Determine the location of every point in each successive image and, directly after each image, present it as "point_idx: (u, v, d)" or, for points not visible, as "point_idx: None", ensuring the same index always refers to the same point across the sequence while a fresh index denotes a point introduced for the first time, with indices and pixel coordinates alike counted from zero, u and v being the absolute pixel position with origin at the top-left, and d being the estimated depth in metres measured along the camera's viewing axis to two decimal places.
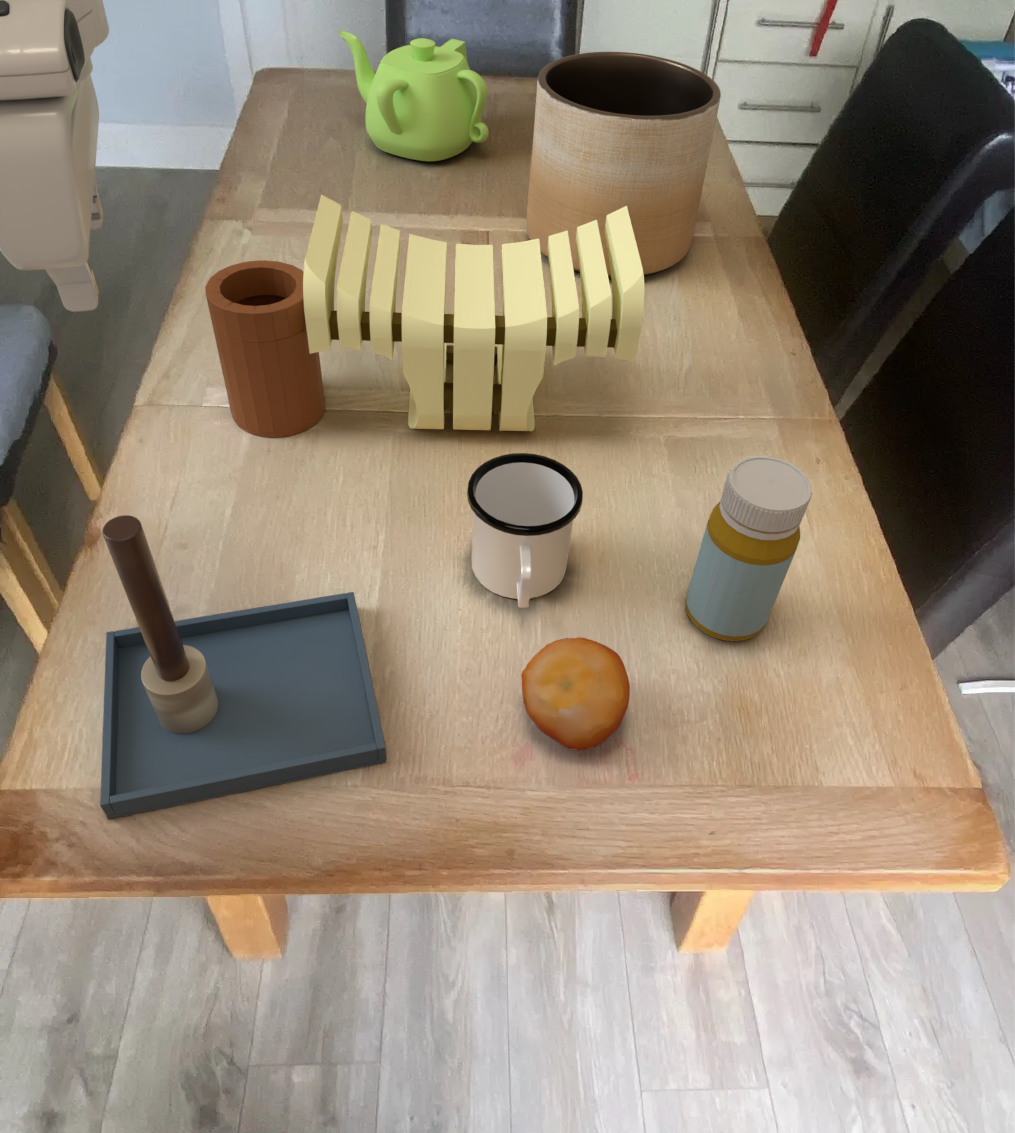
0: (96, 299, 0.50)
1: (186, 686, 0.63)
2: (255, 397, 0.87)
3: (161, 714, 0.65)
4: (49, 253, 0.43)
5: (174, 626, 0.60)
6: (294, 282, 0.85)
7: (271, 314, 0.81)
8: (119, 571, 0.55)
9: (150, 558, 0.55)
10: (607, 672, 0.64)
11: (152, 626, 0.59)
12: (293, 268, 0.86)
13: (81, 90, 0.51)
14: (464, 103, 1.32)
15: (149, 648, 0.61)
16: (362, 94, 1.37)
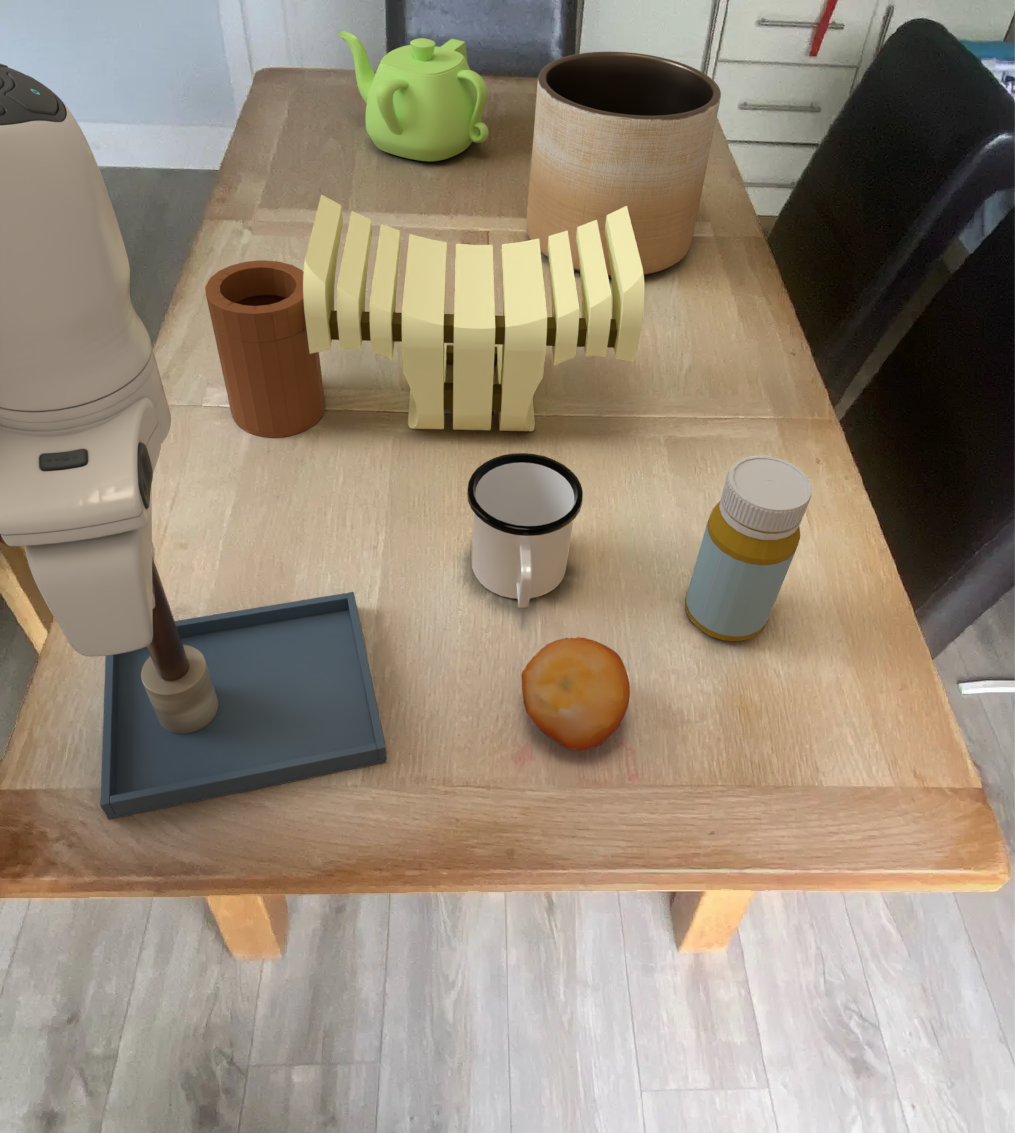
0: (153, 602, 0.55)
1: (186, 686, 0.63)
2: (255, 397, 0.87)
3: (161, 714, 0.65)
4: (119, 647, 0.46)
5: (174, 626, 0.60)
6: (294, 282, 0.85)
7: (271, 314, 0.81)
8: None
9: None
10: (607, 672, 0.64)
11: None
12: (293, 268, 0.86)
13: None
14: (464, 103, 1.32)
15: (149, 648, 0.61)
16: (362, 94, 1.37)
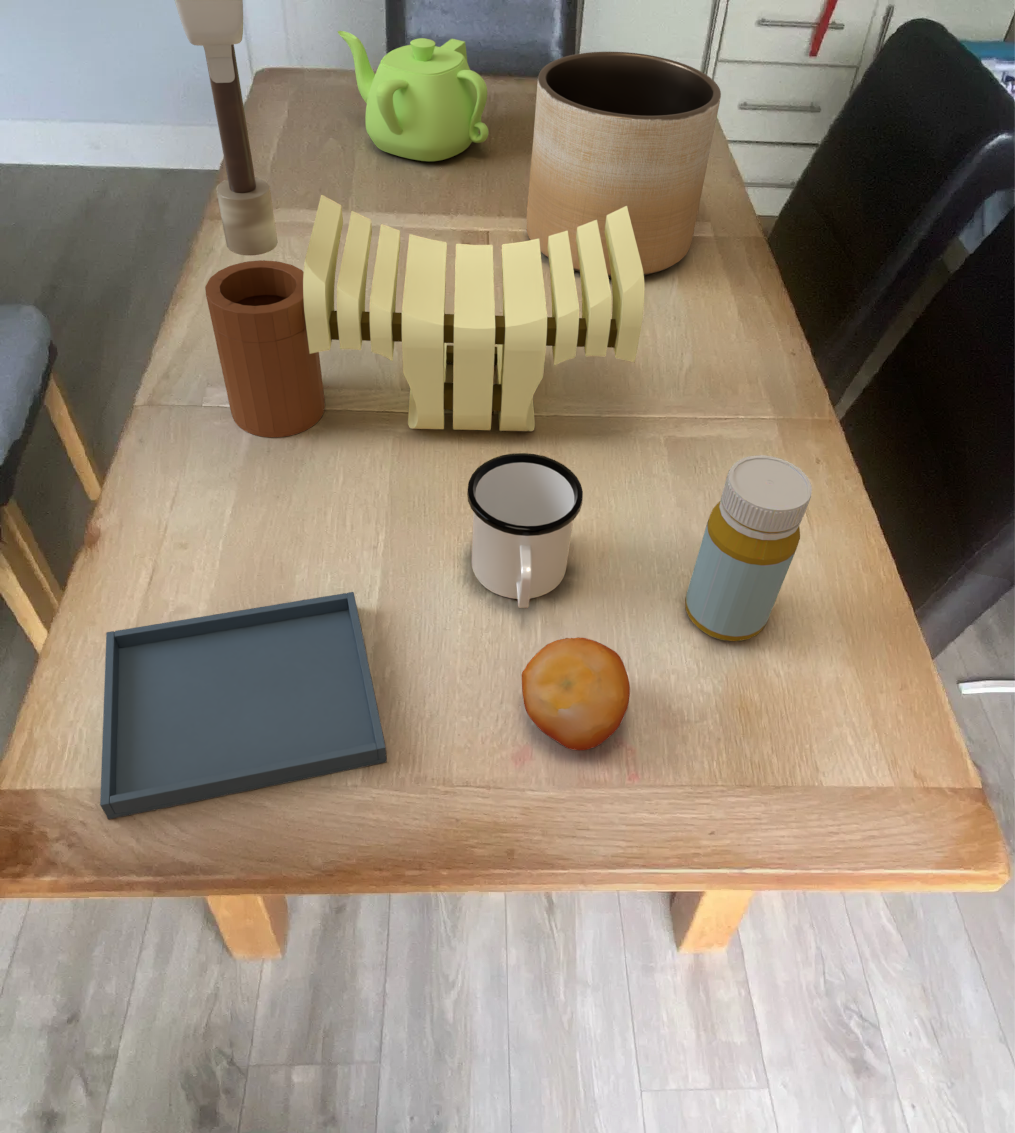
0: (234, 73, 0.68)
1: (255, 196, 0.75)
2: (255, 397, 0.87)
3: (232, 230, 0.77)
4: (218, 29, 0.59)
5: (246, 129, 0.73)
6: (294, 282, 0.85)
7: (271, 314, 0.81)
8: None
9: None
10: (607, 673, 0.64)
11: (230, 117, 0.71)
12: (293, 268, 0.86)
13: None
14: (464, 103, 1.32)
15: (225, 149, 0.73)
16: (362, 94, 1.37)
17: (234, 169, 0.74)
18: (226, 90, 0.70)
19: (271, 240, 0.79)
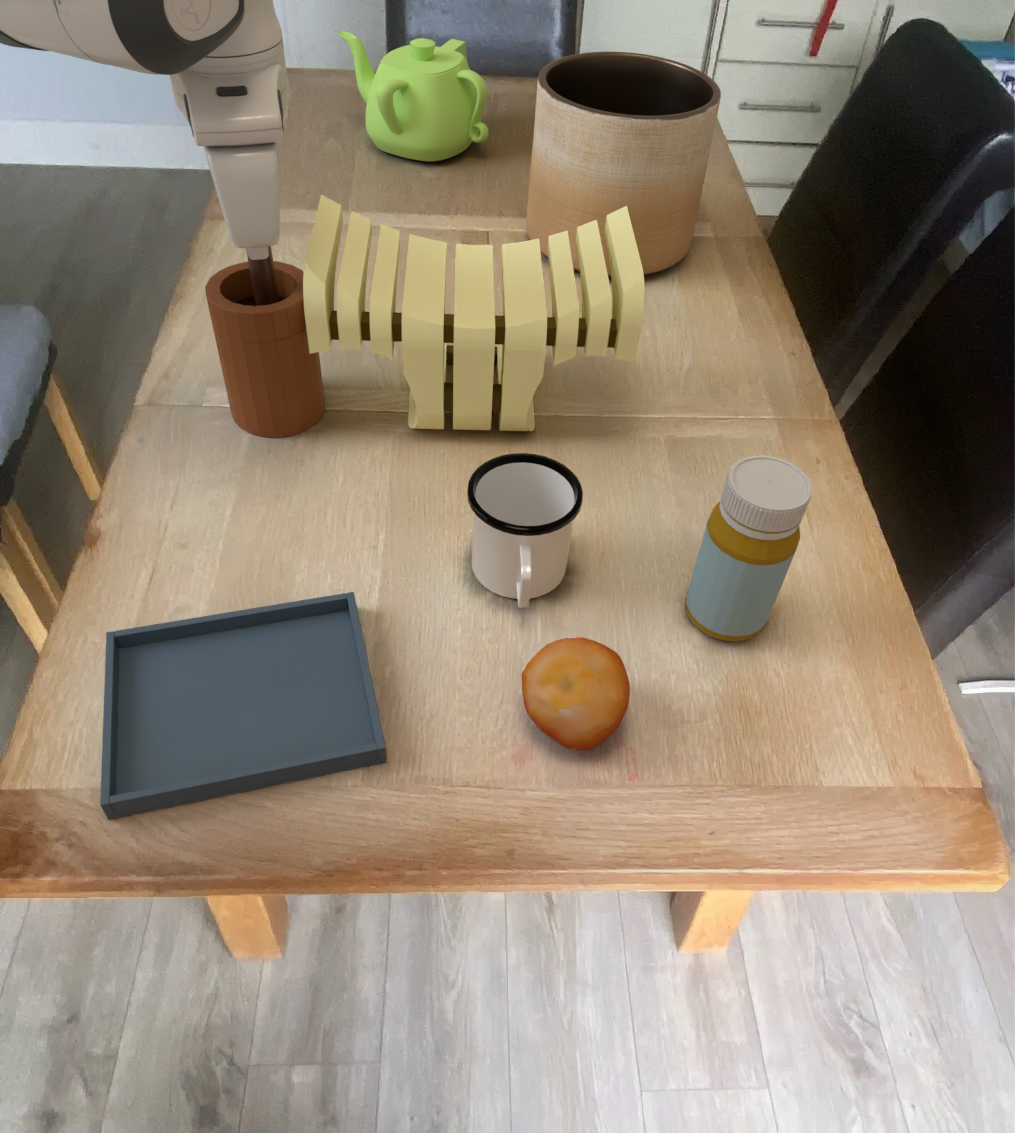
0: (268, 251, 0.79)
1: None
2: (255, 397, 0.87)
3: None
4: (259, 237, 0.70)
5: (277, 290, 0.84)
6: (294, 282, 0.85)
7: (271, 314, 0.81)
8: None
9: None
10: (607, 673, 0.64)
11: (263, 282, 0.82)
12: (293, 268, 0.86)
13: None
14: (464, 103, 1.32)
15: None
16: (362, 94, 1.37)
17: None
18: (261, 262, 0.81)
19: None
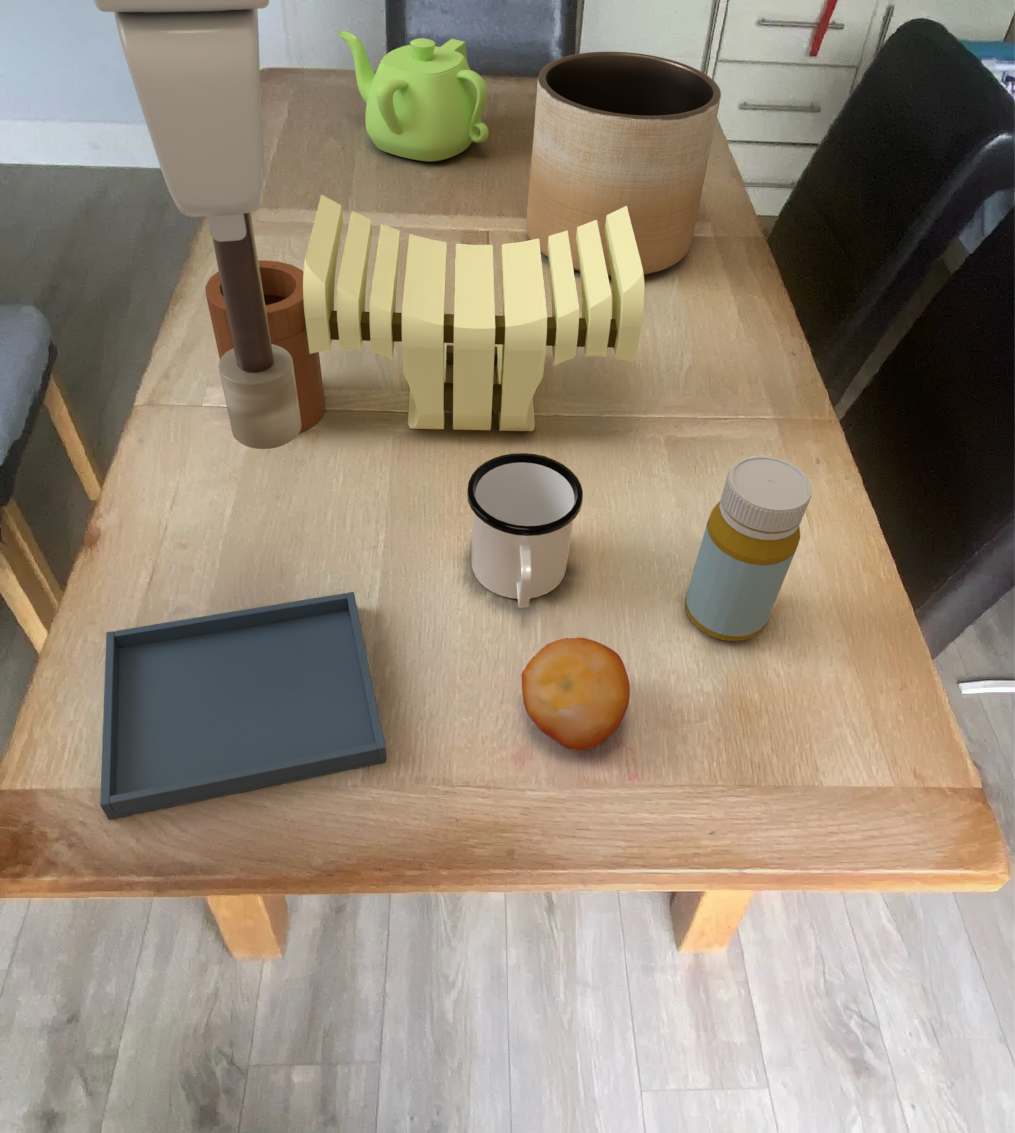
0: (245, 228, 0.46)
1: (272, 377, 0.54)
2: None
3: (240, 419, 0.56)
4: (224, 195, 0.38)
5: (262, 292, 0.52)
6: (294, 282, 0.85)
7: (271, 314, 0.81)
8: None
9: None
10: (607, 673, 0.64)
11: (240, 280, 0.50)
12: (293, 268, 0.86)
13: None
14: (464, 103, 1.32)
15: (232, 319, 0.52)
16: (362, 94, 1.37)
17: (244, 344, 0.53)
18: (234, 246, 0.48)
19: (293, 427, 0.57)
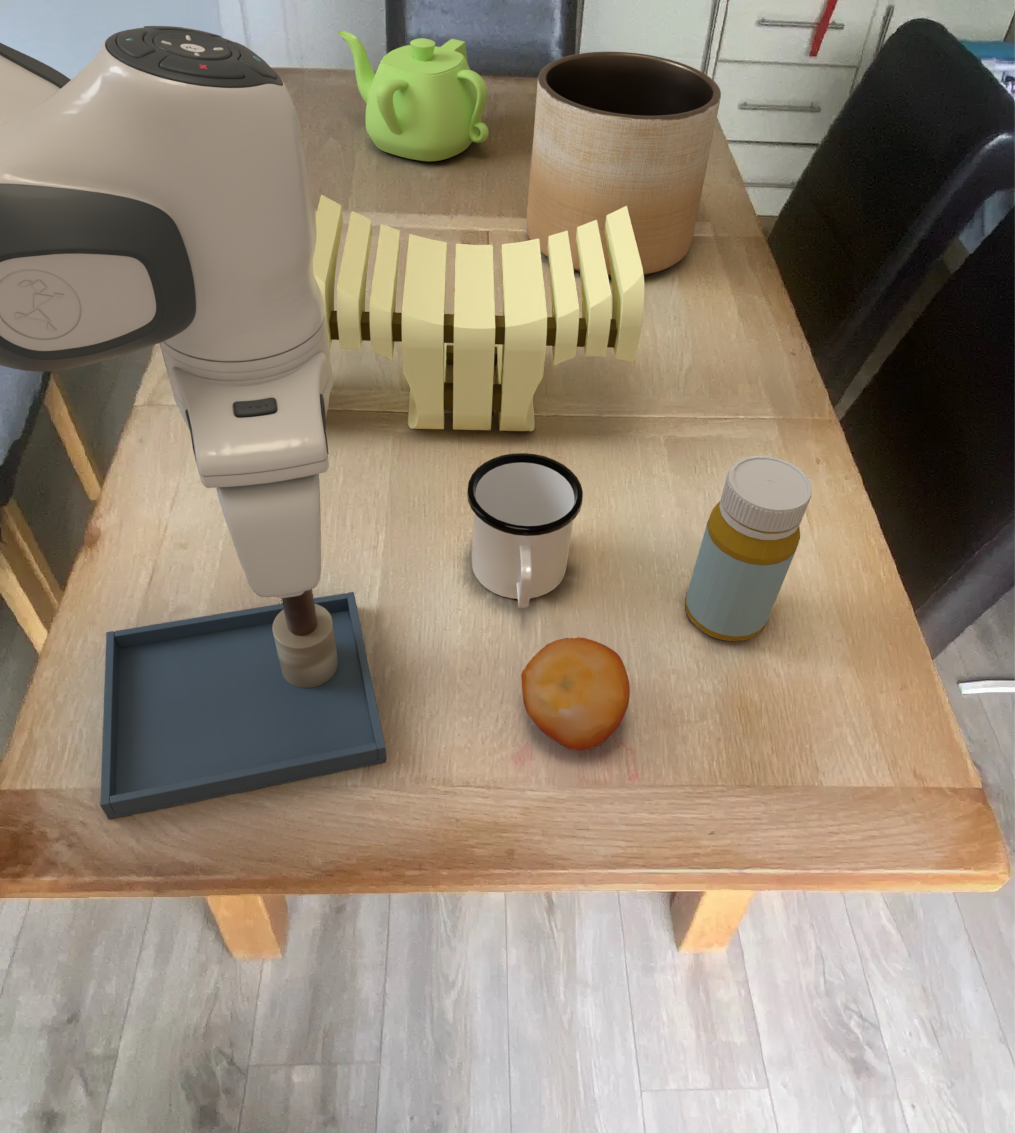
0: None
1: (317, 640, 0.66)
2: None
3: (289, 668, 0.68)
4: (291, 588, 0.49)
5: None
6: None
7: None
8: None
9: None
10: (607, 672, 0.64)
11: None
12: None
13: None
14: (464, 103, 1.32)
15: (286, 603, 0.64)
16: (362, 94, 1.37)
17: (295, 618, 0.65)
18: None
19: (332, 669, 0.70)
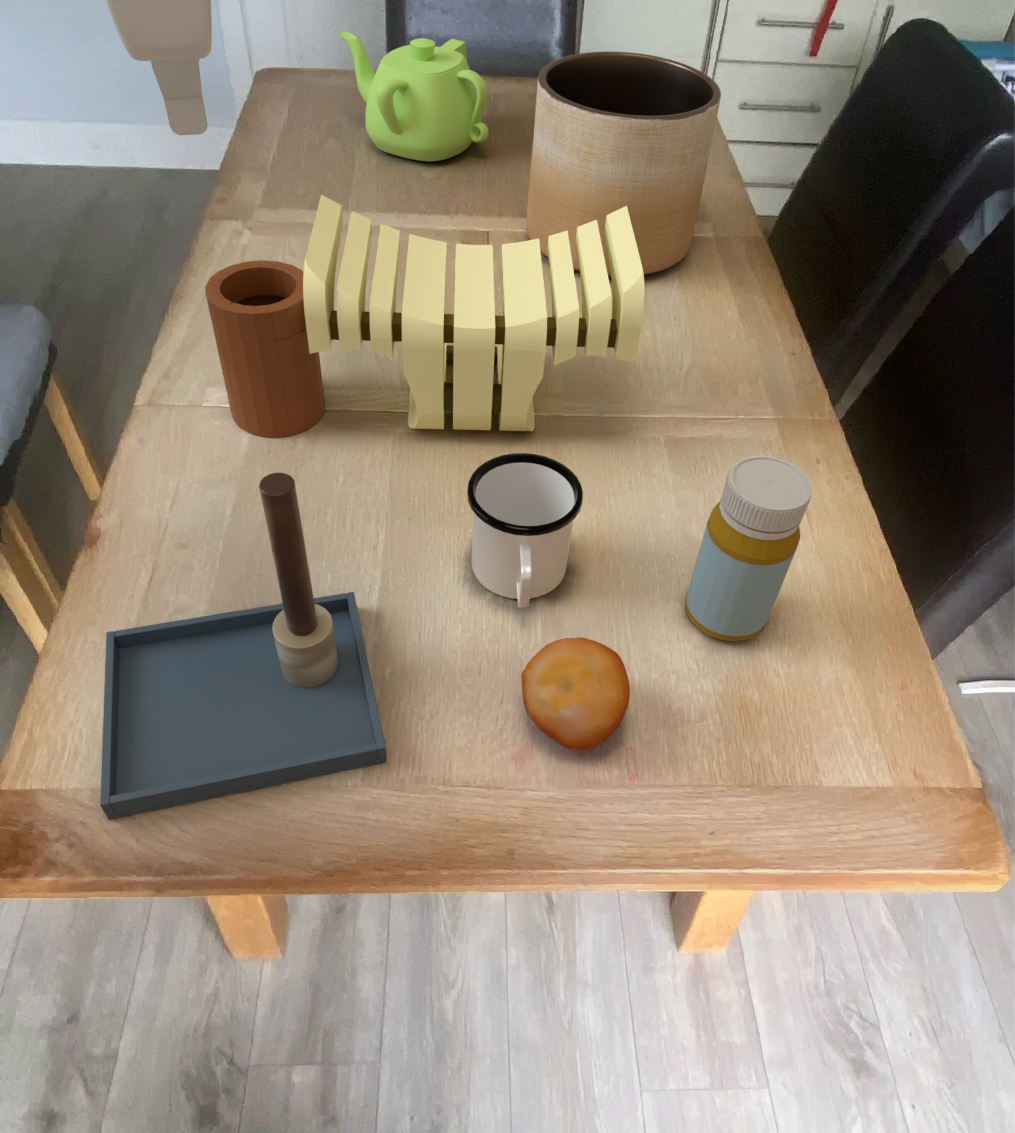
0: (205, 120, 0.45)
1: (317, 640, 0.66)
2: (255, 397, 0.87)
3: (289, 668, 0.68)
4: (172, 35, 0.38)
5: (310, 582, 0.64)
6: (294, 282, 0.85)
7: (271, 314, 0.81)
8: (270, 526, 0.58)
9: (298, 514, 0.59)
10: (607, 672, 0.64)
11: (293, 580, 0.62)
12: (293, 268, 0.86)
13: None
14: (464, 103, 1.32)
15: (286, 603, 0.64)
16: (362, 94, 1.37)
17: (295, 618, 0.65)
18: (290, 560, 0.61)
19: (332, 669, 0.70)
